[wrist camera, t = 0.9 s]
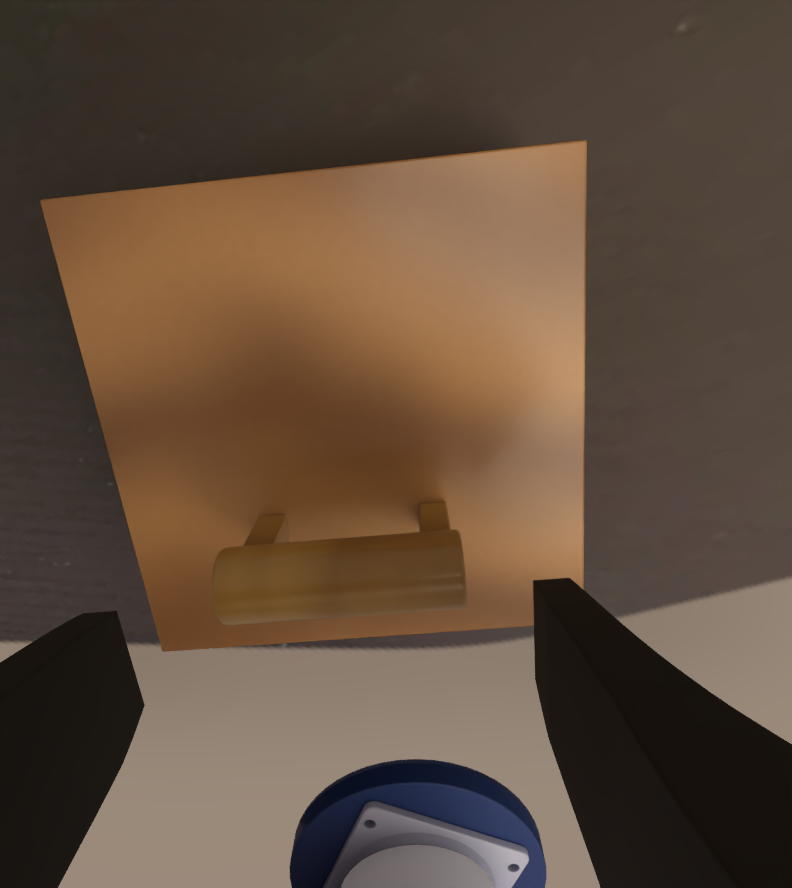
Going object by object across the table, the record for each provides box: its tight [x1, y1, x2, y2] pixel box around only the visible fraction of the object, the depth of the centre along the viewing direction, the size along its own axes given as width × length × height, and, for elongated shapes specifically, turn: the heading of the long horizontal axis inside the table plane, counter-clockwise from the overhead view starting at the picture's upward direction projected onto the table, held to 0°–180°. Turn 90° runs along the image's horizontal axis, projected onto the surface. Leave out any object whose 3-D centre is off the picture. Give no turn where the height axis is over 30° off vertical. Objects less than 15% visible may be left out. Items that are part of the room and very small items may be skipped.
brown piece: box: [40, 140, 587, 652], centre depth 13 cm, size 12×11×4 cm
